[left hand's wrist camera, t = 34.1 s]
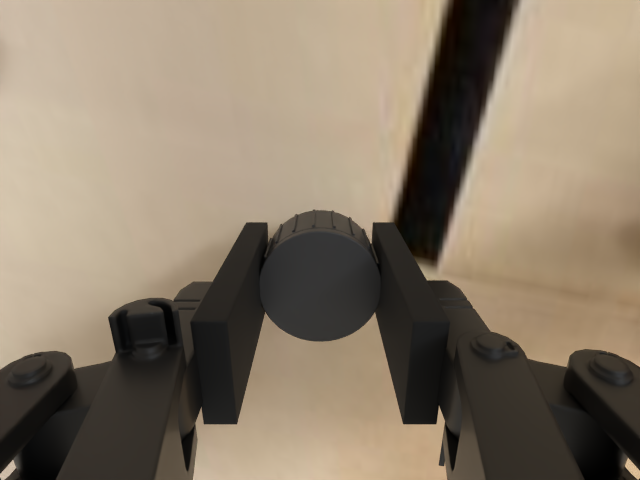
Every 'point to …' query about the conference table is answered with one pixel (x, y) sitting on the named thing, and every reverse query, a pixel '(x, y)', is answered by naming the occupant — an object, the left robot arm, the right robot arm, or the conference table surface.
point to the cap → (320, 277)
